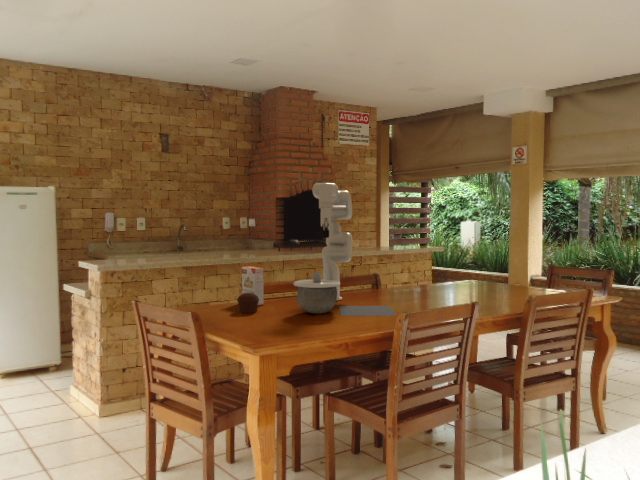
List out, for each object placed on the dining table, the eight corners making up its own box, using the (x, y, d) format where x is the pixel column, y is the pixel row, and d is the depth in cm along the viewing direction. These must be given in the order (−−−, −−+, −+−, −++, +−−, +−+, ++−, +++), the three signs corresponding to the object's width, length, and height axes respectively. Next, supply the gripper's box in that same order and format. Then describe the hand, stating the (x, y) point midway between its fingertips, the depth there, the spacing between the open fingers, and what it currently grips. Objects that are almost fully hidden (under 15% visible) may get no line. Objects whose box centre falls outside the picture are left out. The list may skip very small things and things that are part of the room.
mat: (338, 307, 325) (338, 306, 325) (389, 306, 325) (389, 305, 325) (341, 316, 297) (341, 315, 297) (397, 316, 297) (397, 315, 297)
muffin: (256, 309, 317) (256, 291, 317) (262, 313, 307) (261, 294, 306) (234, 311, 313) (234, 292, 312) (239, 314, 303) (239, 295, 302)
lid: (294, 281, 317) (294, 270, 317) (339, 281, 318) (339, 269, 318) (293, 287, 294) (293, 275, 293) (341, 287, 294) (341, 275, 294)
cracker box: (241, 302, 338) (241, 266, 337) (250, 301, 342) (250, 265, 341) (255, 306, 328) (254, 268, 326) (264, 305, 331) (264, 267, 330)
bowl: (291, 315, 300) (291, 286, 299) (304, 308, 319) (304, 281, 318) (330, 318, 294) (330, 288, 293) (341, 310, 313) (341, 282, 312)
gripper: (318, 205, 332) (318, 236, 333) (319, 205, 314) (319, 238, 315) (332, 205, 332) (332, 236, 333) (333, 205, 315) (333, 238, 316)
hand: (325, 237), depth 324 cm, fingers open, 9 cm apart
